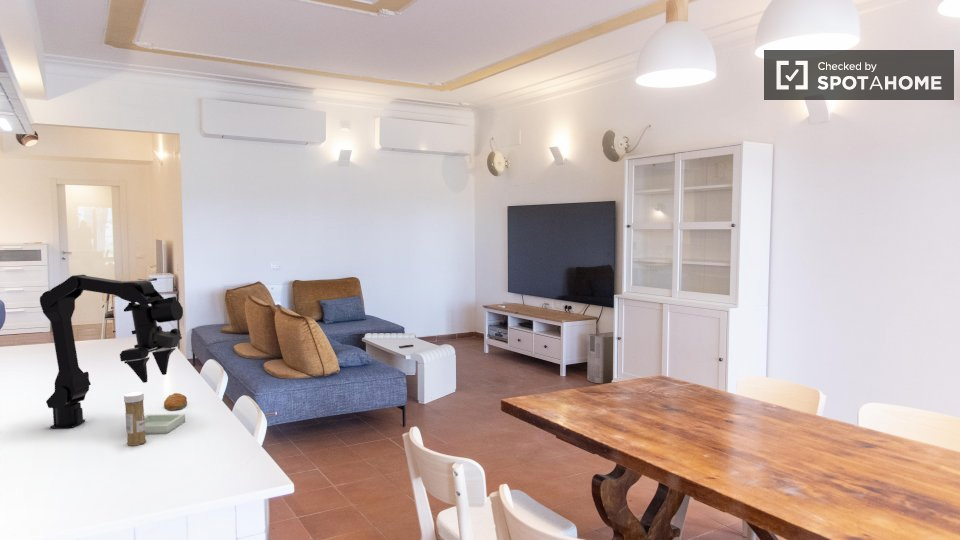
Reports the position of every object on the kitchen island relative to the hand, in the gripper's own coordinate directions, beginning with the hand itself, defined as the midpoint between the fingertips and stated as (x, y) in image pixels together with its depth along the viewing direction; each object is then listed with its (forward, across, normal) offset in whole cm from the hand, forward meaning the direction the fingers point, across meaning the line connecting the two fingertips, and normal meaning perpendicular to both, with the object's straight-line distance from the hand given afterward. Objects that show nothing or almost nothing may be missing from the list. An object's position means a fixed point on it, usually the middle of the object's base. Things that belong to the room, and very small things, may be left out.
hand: (155, 378), depth 185 cm
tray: (+14, -1, +1) cm, 14 cm away
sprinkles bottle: (+14, -14, -1) cm, 20 cm away
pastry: (+14, +20, +8) cm, 26 cm away
